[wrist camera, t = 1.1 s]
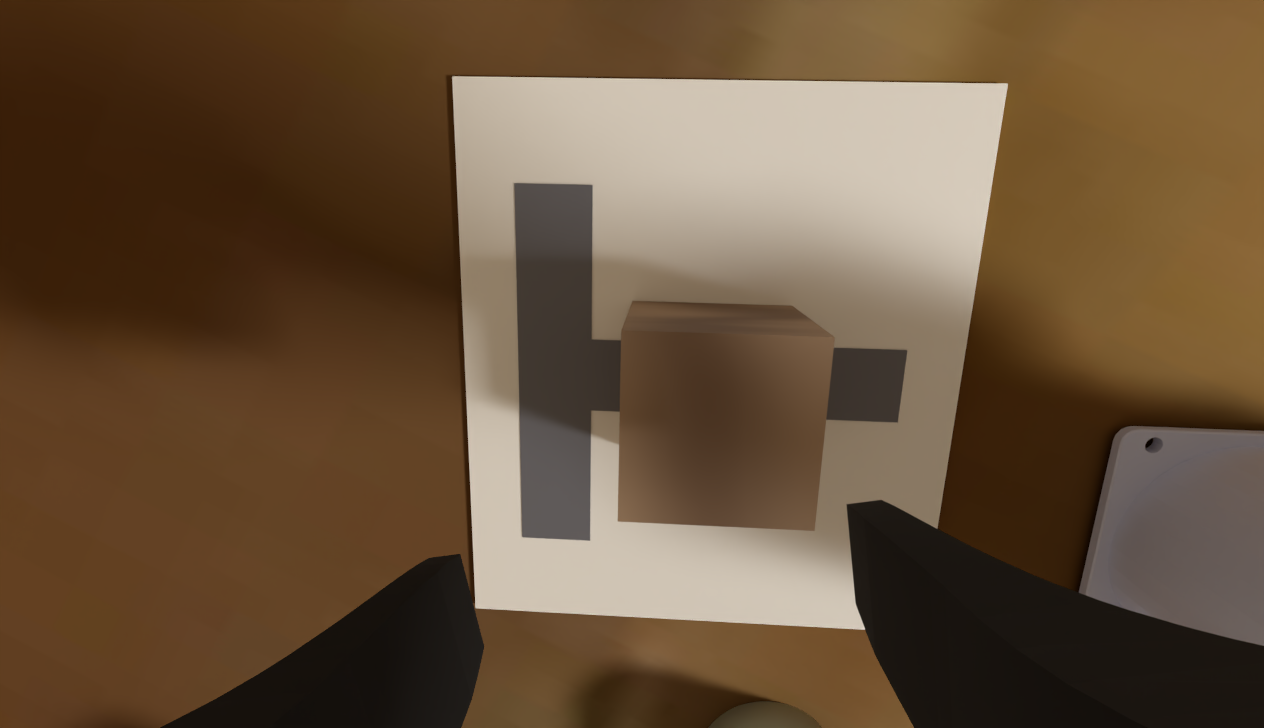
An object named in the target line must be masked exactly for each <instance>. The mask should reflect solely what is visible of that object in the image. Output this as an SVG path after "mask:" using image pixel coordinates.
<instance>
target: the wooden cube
mask: <svg viewBox="0 0 1264 728" xmlns="http://www.w3.org/2000/svg"><path fill="white" fill-rule="evenodd" d="M834 341H835V337H834V336H832V335H831V334H830V333H828V332H827V331H826V330H824V329H823V328H822V327H820V326H819V325H818V324H816V323H815V322H814V321H812V320H811V319H810V318H808V317H807V316H805V315H804V314H803V313H801V312H800V311H799V310H797V309H796V308H795V307H793V306H786V305H754V304H721V303H688V302H655V301H632V304H631V306H630V309H629V311H628V314H627V317H626V319H625V322H624V324H623V327H622V330H621V371H620V423H619V476H618V522H638V523H659V524H680V525H701V526H721V527H742V528H763V529H784V530H805V531H815V522H816V512H817V503H818V493H819V484H820V474H821V465H822V455H823V446H824V436H825V426H826V417H827V407H828V398H829V388H830V379H831V369H832V360H833V350H834Z"/></svg>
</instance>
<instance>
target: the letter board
mask: <svg viewBox="0 0 1264 728" xmlns="http://www.w3.org/2000/svg"><path fill="white" fill-rule="evenodd" d="M452 85H453V108H454V131H455V153H456V176H457V199H458V221H459V244H460V266H461V289H462V312H463V334H464V357H465V380H466V402H467V425H468V448H469V470H470V493H471V515H472V538H473V561H474V583H475V606H476V608H481V609H499V610H517V611H535V612H553V613H572V614H590V615H608V616H626V617H644V618H662V619H681V620H699V621H717V622H735V623H753V624H771V625H789V626H808V627H826V628H844V629H862V630H865V627H864V625H863V622H862V619H861V617H860V614H859V612H858V609H857V606H856V603H855V592H854V581H853V570H852V559H851V549H850V538H849V527H848V516H847V505H846V504H852V503H860V502H868V501H876V500H883V501H885V502H887V503H890V504H892V505H894V506H896V507H897V508H899V509H901V510H903V511H905V512H907V513H909V514H911V515H912V516H914V517H916V518H918V519H920V520H922V521H924V522H925V523H927V524H929V525H931V526H933V527H935V528H937V529H938V522H939V516H940V510H941V503H942V497H943V491H944V484H945V478H946V472H947V465H948V459H949V453H950V446H951V440H952V434H953V427H954V421H955V415H956V409H957V402H958V396H959V390H960V383H961V377H962V371H963V364H964V358H965V352H966V345H967V339H968V333H969V326H970V320H971V314H972V307H973V301H974V295H975V288H976V282H977V276H978V269H979V263H980V257H981V250H982V244H983V238H984V232H985V225H986V219H987V213H988V206H989V200H990V194H991V187H992V181H993V175H994V168H995V162H996V156H997V149H998V143H999V137H1000V130H1001V124H1002V118H1003V111H1004V105H1005V99H1006V92H1007V86H1008V84H996V83H921V82H846V81H771V80H696V79H621V78H546V77H471V76H452ZM632 301H655V302H688V303H721V304H754V305H786V306H793V307H795V308H796V309H797V310H799V311H800V312H801V313H803V314H804V315H805V316H807V317H808V318H810V319H811V320H812V321H814V322H815V323H816V324H818V325H819V326H820V327H822V328H823V329H824V330H826V331H827V332H828V333H830V334H831V335H832V336H834V337H835V341H834V350H833V360H832V369H831V379H830V388H829V398H828V407H827V417H826V426H825V436H824V446H823V455H822V465H821V474H820V484H819V493H818V503H817V512H816V522H815V531H805V530H784V529H763V528H742V527H721V526H701V525H680V524H659V523H638V522H618V476H619V423H620V371H621V330H622V327H623V324H624V322H625V319H626V317H627V314H628V311H629V309H630V306H631V304H632Z"/></svg>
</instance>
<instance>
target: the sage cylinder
mask: <svg viewBox="0 0 1264 728" xmlns="http://www.w3.org/2000/svg"><path fill="white" fill-rule="evenodd" d="M709 728H822V727H821V726H820V725H819V724H818V723H817V721H816V720H814V719H813V718H812V717H811V716H810V715H808V714H807V713H805V712H804V711H802V710H800V709H798V708H796V707H793V706H790V705H788V704H784V703H779V702H771V701H759V702H751V703H746V704H742V705H739V706H736V707H734V708H732V709H730V710H728V711H726V712H725V713H723V714H722V715H720V716H719V717H718V718H717V719H716V720H715V721H714V722H713V723H712V724H711V725H710V726H709Z"/></svg>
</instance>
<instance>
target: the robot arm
mask: <svg viewBox="0 0 1264 728" xmlns="http://www.w3.org/2000/svg"><path fill="white" fill-rule="evenodd" d="M1151 438H1153V442H1152V444H1151V445H1150V446H1149V447H1148V448H1145V444H1146V442H1147V441H1148V440H1149V439H1151ZM846 505H847V516H848V527H849V538H850V549H851V559H852V570H853V581H854V592H855V603H856V606H857V609H858V612H859V614H860V617H861V619H862V622H863V625H864V627H865V630H866V633H867V635H868V638H869V640H870V643H871V645H872V648H873V650H874V653H875V655H876V657H877V659H878V661H879V663H880V665H881V667H882V669H883V671H884V672H885V674H886V676H887V678H888V680H889V682H890V684H891V686H892V687H893V689H894V691H895V693H896V695H897V697H898V699H899V700H900V702H901V704H902V706H903V708H904V710H905V712H906V713H907V715H908V717H909V719H910V721H911V723H912V724H913V726H914V728H1264V431H1253V430H1227V429H1201V428H1175V427H1150V426H1128V427H1125V428H1123V429H1121V430H1120V431H1119V432H1118V433H1117V434H1116V435H1115V437H1114V439H1113V443H1112V447H1111V452H1110V456H1109V461H1108V465H1107V470H1106V474H1105V478H1104V483H1103V487H1102V492H1101V496H1100V501H1099V505H1098V509H1097V514H1096V518H1095V523H1094V527H1093V531H1092V536H1091V540H1090V545H1089V549H1088V554H1087V558H1086V562H1085V567H1084V571H1083V576H1082V580H1081V585H1080V589H1079V593H1078V592H1076V591H1073V590H1070V589H1067V588H1065V587H1062V586H1059V585H1057V584H1054V583H1051V582H1049V581H1046V580H1044V579H1042V578H1039V577H1037V576H1034V575H1032V574H1029V573H1027V572H1025V571H1023V570H1021V569H1018V568H1016V567H1014V566H1012V565H1009V564H1007V563H1005V562H1003V561H1001V560H998V559H996V558H994V557H992V556H990V555H988V554H986V553H983V552H981V551H979V550H977V549H975V548H973V547H971V546H969V545H967V544H965V543H963V542H961V541H959V540H957V539H956V538H954V537H952V536H950V535H948V534H946V533H944V532H942V531H940V530H938V529H937V528H935V527H933V526H931V525H929V524H927V523H925V522H924V521H922V520H920V519H918V518H916V517H914V516H912V515H911V514H909V513H907V512H905V511H903V510H901V509H899V508H897V507H896V506H894V505H892V504H890V503H887V502H885V501H883V500H876V501H868V502H860V503H852V504H846ZM483 650H484V644H483V640H482V637H481V633H480V629H479V625H478V621H477V617H476V613H475V610H474V606H473V602H472V598H471V594H470V590H469V586H468V583H467V579H466V575H465V571H464V567H463V563H462V559H461V556H460V554H456V555H449V556H441V557H433V558H428V559H427V560H425V561H423V562H421V563H420V564H418V565H416V566H415V567H413V568H412V569H410V570H409V571H407V572H406V573H404V574H403V575H402V576H400V577H399V578H397V579H396V580H395V581H393V582H392V583H390V584H389V585H388V586H386V587H385V588H383V589H382V590H381V591H379V592H378V593H377V594H375V595H374V596H373V597H371V598H370V599H368V600H367V601H366V602H364V603H363V604H362V605H360V606H359V607H357V608H356V609H355V610H353V611H352V612H351V613H349V614H348V615H346V616H345V617H344V618H342V619H341V620H339V621H338V622H337V623H335V624H334V625H332V626H331V627H329V628H328V629H326V630H325V631H323V632H322V633H320V634H319V635H318V636H316V637H315V638H313V639H312V640H310V641H309V642H307V643H306V644H304V645H303V646H301V647H300V648H299V649H297V650H296V651H294V652H293V653H291V654H290V655H288V656H287V657H285V658H284V659H282V660H280V661H279V662H277V663H276V664H274V665H273V666H271V667H269V668H268V669H266V670H264V671H263V672H261V673H260V674H258V675H256V676H255V677H253V678H251V679H249V680H248V681H246V682H244V683H243V684H241V685H239V686H237V687H236V688H234V689H232V690H231V691H229V692H227V693H225V694H224V695H222V696H220V697H218V698H217V699H215V700H213V701H211V702H209V703H207V704H205V705H204V706H202V707H200V708H198V709H196V710H194V711H192V712H190V713H188V714H186V715H184V716H182V717H180V718H178V719H176V720H174V721H172V722H170V723H168V724H166V725H165V726H163V727H161V728H461V727H462V724H463V721H464V719H465V716H466V713H467V711H468V708H469V705H470V702H471V700H472V696H473V692H474V688H475V684H476V680H477V676H478V672H479V668H480V663H481V659H482V654H483Z"/></svg>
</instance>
